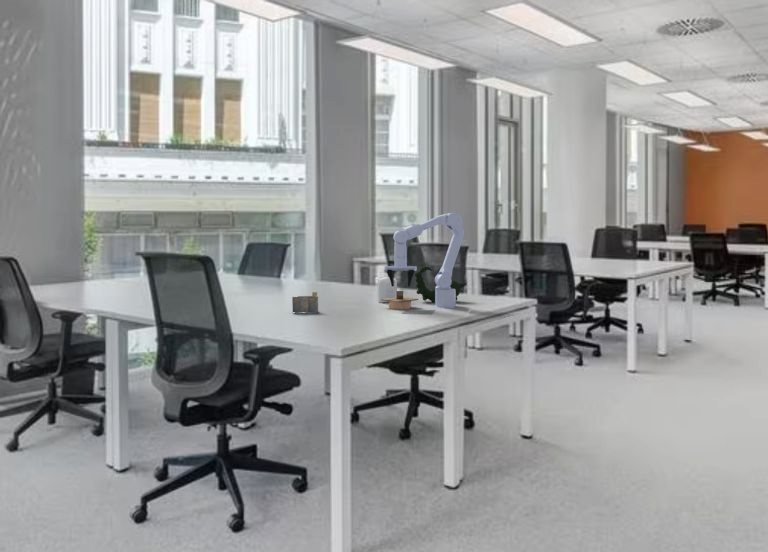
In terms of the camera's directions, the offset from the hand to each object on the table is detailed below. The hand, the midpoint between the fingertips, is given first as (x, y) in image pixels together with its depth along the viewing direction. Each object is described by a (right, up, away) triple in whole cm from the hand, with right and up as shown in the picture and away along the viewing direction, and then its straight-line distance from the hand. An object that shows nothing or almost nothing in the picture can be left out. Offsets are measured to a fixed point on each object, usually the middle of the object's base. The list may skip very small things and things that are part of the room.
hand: (400, 286), depth 316 cm
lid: (-1, -6, 0) cm, 6 cm away
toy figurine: (+20, -8, +23) cm, 32 cm away
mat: (+8, -12, -14) cm, 20 cm away
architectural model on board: (-43, -12, -7) cm, 45 cm away
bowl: (0, -10, 0) cm, 10 cm away
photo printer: (-6, -8, +25) cm, 27 cm away
